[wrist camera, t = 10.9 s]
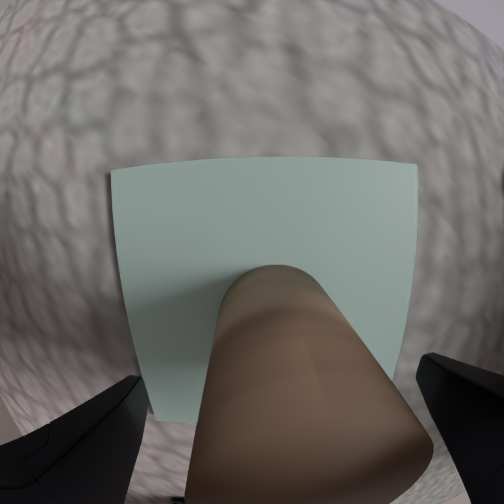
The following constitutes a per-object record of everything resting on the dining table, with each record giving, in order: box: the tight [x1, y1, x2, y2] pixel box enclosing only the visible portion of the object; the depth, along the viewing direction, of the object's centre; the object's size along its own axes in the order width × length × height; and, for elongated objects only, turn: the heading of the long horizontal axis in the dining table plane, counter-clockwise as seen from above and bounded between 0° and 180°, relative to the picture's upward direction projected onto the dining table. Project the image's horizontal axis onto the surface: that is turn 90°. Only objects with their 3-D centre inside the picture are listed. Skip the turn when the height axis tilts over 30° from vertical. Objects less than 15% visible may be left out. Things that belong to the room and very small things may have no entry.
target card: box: [111, 157, 418, 424], centre depth 13 cm, size 14×14×1 cm
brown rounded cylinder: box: [185, 265, 434, 504], centre depth 8 cm, size 5×5×9 cm
